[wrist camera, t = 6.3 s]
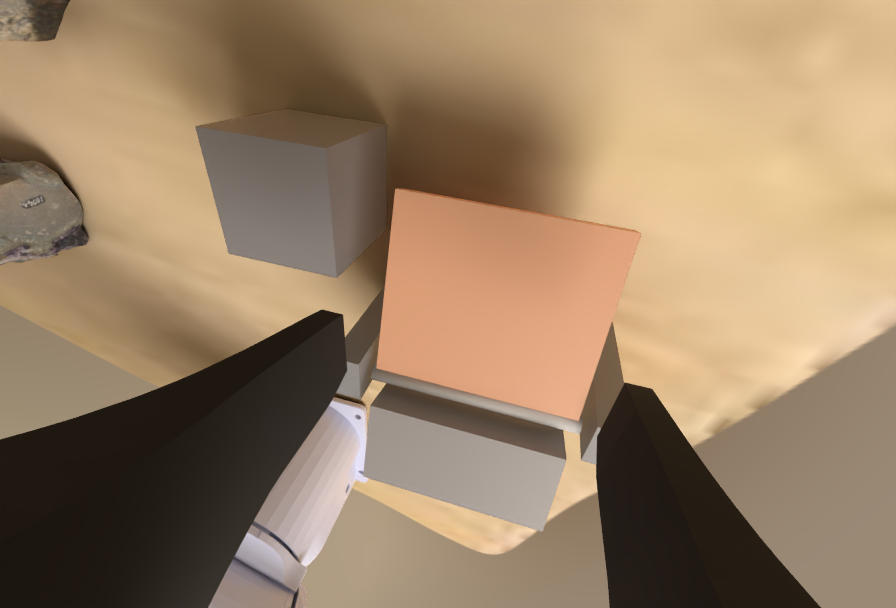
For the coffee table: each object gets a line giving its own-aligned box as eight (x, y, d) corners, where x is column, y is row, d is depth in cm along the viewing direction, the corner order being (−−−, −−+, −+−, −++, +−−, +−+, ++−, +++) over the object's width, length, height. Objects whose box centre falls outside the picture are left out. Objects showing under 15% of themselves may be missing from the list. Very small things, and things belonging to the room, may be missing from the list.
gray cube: (386, 228, 19) (336, 277, 15) (300, 211, 20) (228, 253, 15) (387, 124, 16) (325, 148, 12) (286, 108, 17) (195, 126, 13)
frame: (596, 360, 20) (609, 476, 14) (392, 312, 22) (335, 400, 16) (612, 322, 18) (633, 436, 13) (393, 274, 20) (330, 357, 15)
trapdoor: (550, 488, 17) (552, 534, 15) (376, 438, 18) (354, 473, 16) (635, 228, 13) (655, 238, 11) (404, 186, 14) (380, 188, 12)
